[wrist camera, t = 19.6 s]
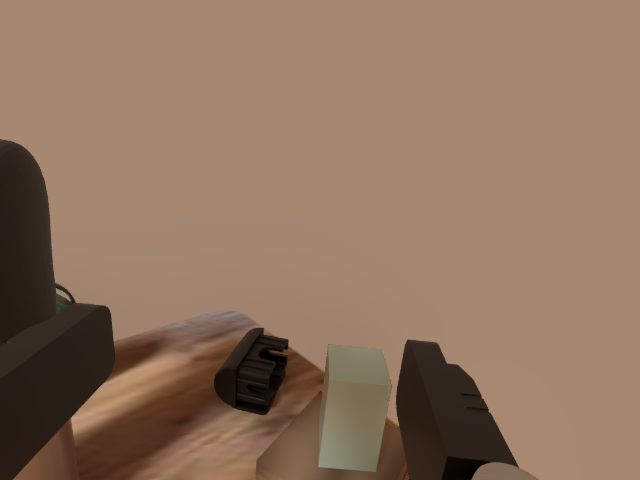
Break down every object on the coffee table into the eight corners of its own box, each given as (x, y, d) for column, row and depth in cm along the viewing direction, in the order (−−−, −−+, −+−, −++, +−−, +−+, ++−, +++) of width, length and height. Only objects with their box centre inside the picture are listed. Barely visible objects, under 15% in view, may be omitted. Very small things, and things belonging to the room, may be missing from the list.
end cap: (243, 361, 57) (244, 323, 55) (287, 370, 56) (289, 332, 54) (213, 407, 47) (212, 363, 45) (264, 419, 46) (267, 374, 44)
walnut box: (255, 498, 37) (256, 460, 35) (317, 423, 47) (320, 391, 45) (362, 577, 31) (370, 535, 30) (407, 472, 41) (414, 437, 40)
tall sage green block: (318, 467, 35) (329, 380, 32) (318, 422, 40) (328, 344, 37) (375, 471, 35) (391, 385, 32) (368, 426, 40) (382, 349, 38)
